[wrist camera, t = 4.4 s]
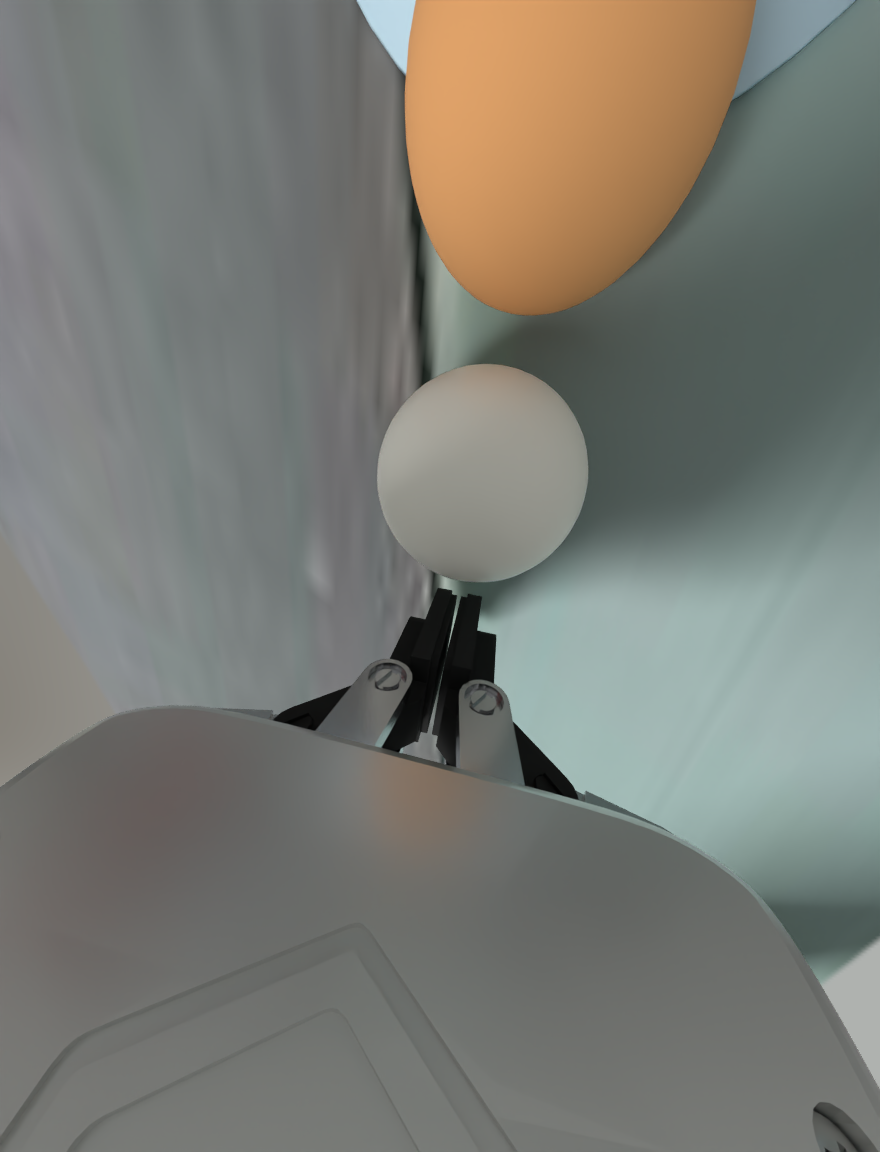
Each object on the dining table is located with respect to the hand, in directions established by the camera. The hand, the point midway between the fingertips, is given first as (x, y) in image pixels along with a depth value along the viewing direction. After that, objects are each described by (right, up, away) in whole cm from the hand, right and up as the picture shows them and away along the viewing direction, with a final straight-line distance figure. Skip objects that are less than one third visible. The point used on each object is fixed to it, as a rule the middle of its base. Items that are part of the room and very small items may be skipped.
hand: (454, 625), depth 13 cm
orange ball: (+2, +10, -6) cm, 12 cm away
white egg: (+1, +4, -3) cm, 6 cm away
